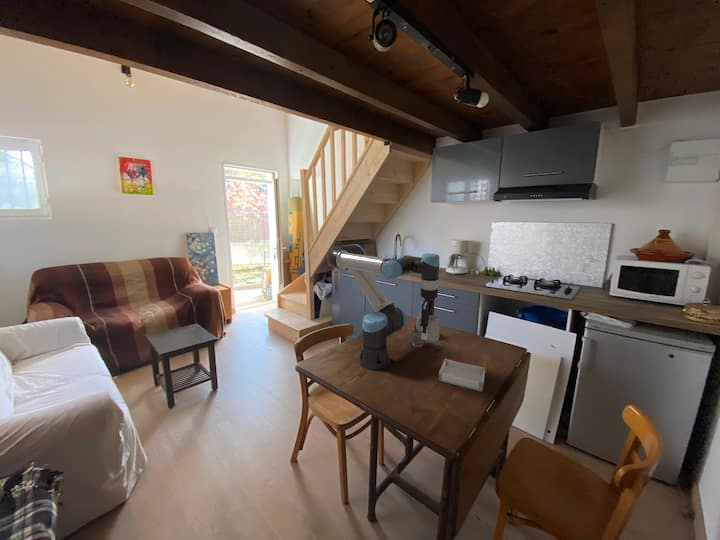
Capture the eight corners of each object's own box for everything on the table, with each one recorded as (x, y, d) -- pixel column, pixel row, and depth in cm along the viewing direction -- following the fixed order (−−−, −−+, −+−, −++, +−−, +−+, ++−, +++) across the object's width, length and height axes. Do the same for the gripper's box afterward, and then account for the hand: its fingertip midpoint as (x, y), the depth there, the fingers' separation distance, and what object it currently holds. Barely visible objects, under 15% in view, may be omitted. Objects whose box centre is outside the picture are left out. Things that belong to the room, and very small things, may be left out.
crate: (438, 380, 126) (438, 372, 125) (444, 365, 138) (445, 358, 137) (482, 391, 118) (482, 383, 118) (484, 375, 130) (485, 367, 129)
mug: (434, 343, 130) (436, 318, 127) (411, 335, 137) (412, 311, 135) (442, 337, 135) (444, 313, 133) (419, 330, 143) (420, 307, 140)
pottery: (405, 346, 157) (406, 325, 155) (417, 329, 179) (418, 311, 177) (426, 351, 153) (427, 329, 150) (436, 333, 175) (437, 314, 172)
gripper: (432, 295, 121) (429, 346, 125) (442, 284, 138) (439, 329, 143) (414, 292, 124) (412, 342, 129) (426, 282, 142) (424, 326, 146)
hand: (426, 335), depth 136 cm, fingers closed on mug, 7 cm apart
